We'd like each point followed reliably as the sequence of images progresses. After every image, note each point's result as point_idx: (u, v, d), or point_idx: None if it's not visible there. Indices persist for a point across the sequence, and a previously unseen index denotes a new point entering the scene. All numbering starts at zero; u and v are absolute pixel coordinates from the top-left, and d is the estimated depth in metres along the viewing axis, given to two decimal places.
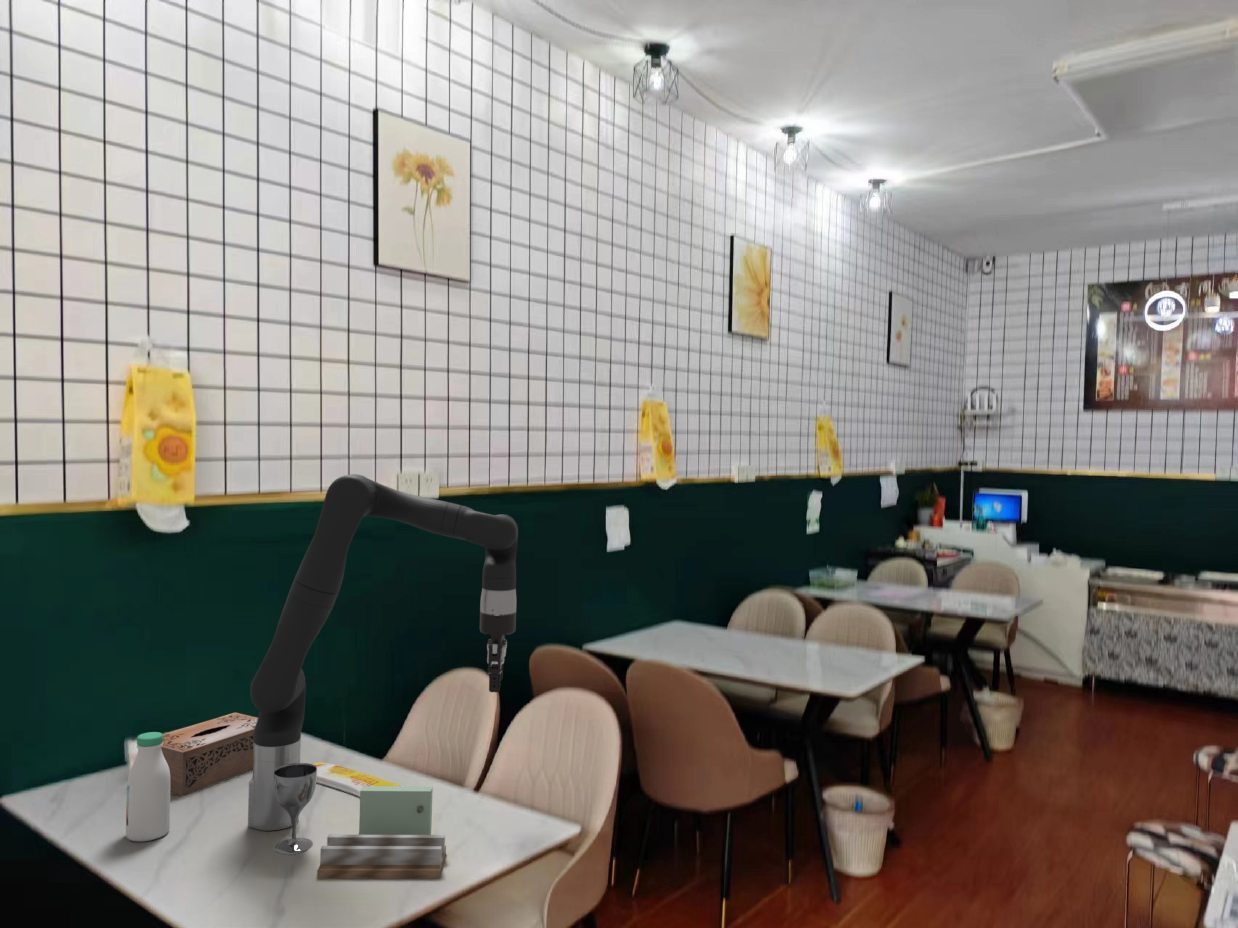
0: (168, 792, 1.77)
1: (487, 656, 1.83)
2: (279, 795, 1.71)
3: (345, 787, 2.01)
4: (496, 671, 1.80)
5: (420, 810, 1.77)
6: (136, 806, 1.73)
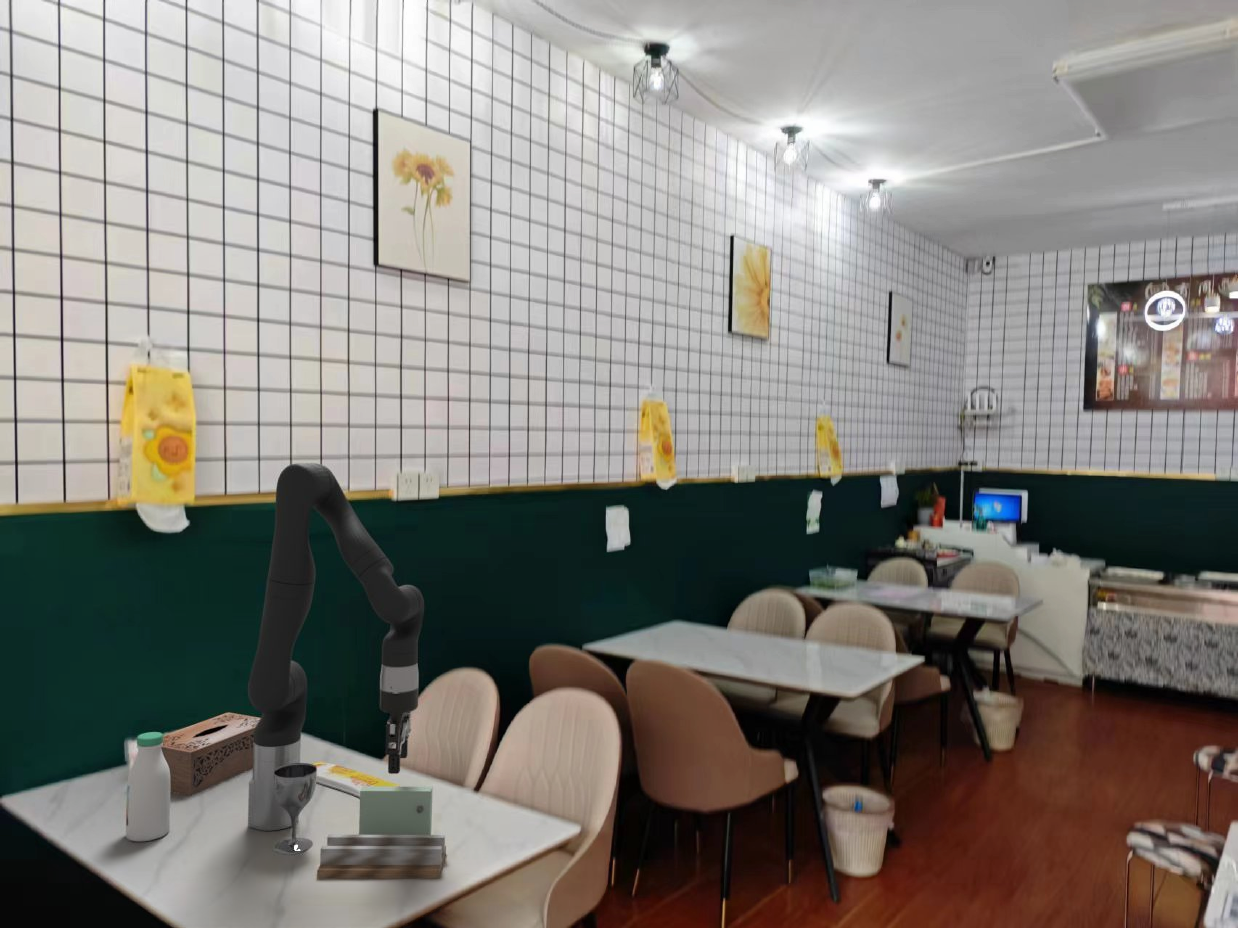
0: (168, 792, 1.77)
1: None
2: (279, 795, 1.71)
3: (344, 787, 2.01)
4: (394, 753, 1.72)
5: (420, 810, 1.77)
6: (136, 806, 1.73)
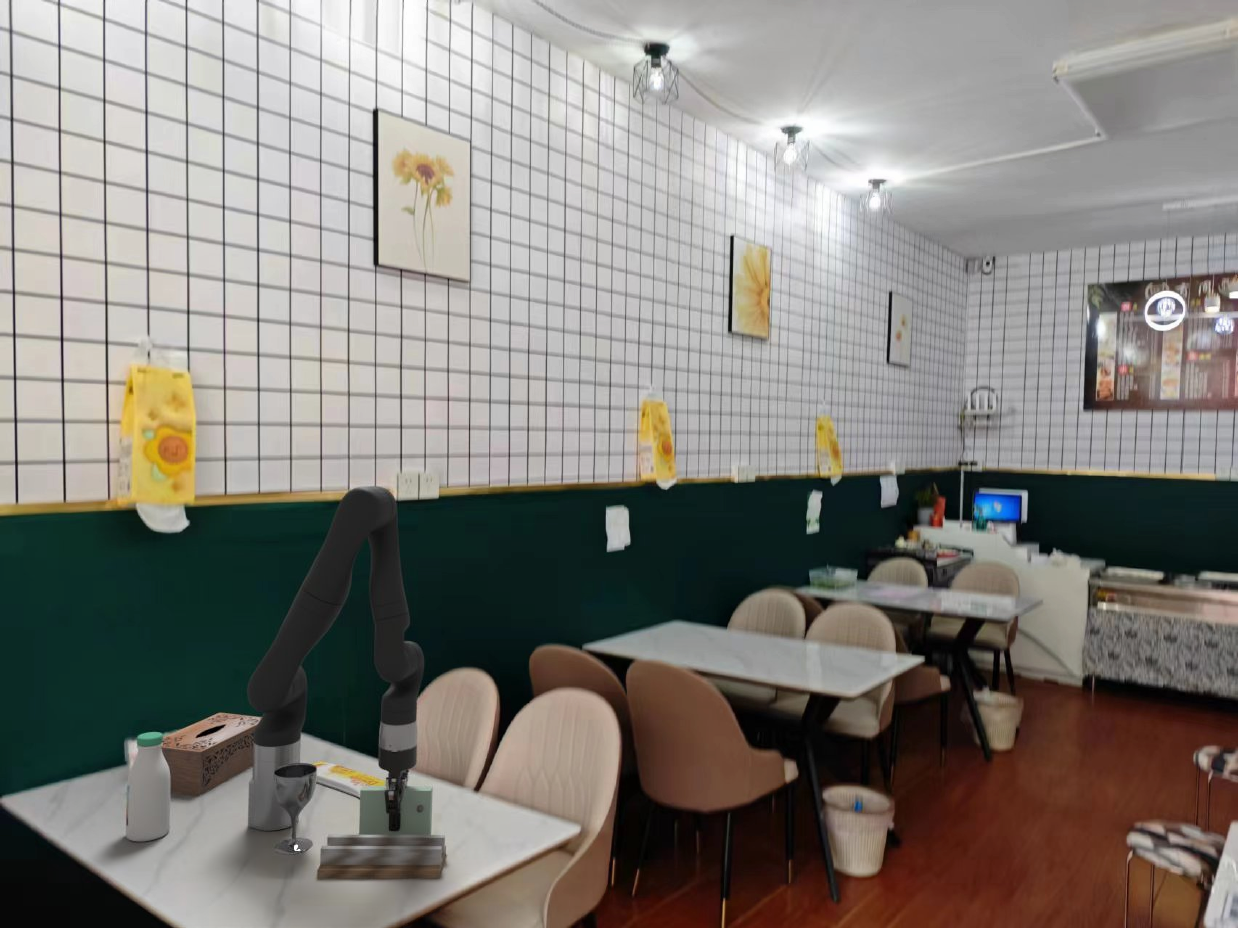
0: (168, 792, 1.77)
1: None
2: (279, 795, 1.71)
3: (344, 787, 2.01)
4: (394, 811, 1.75)
5: (420, 809, 1.78)
6: (136, 806, 1.73)
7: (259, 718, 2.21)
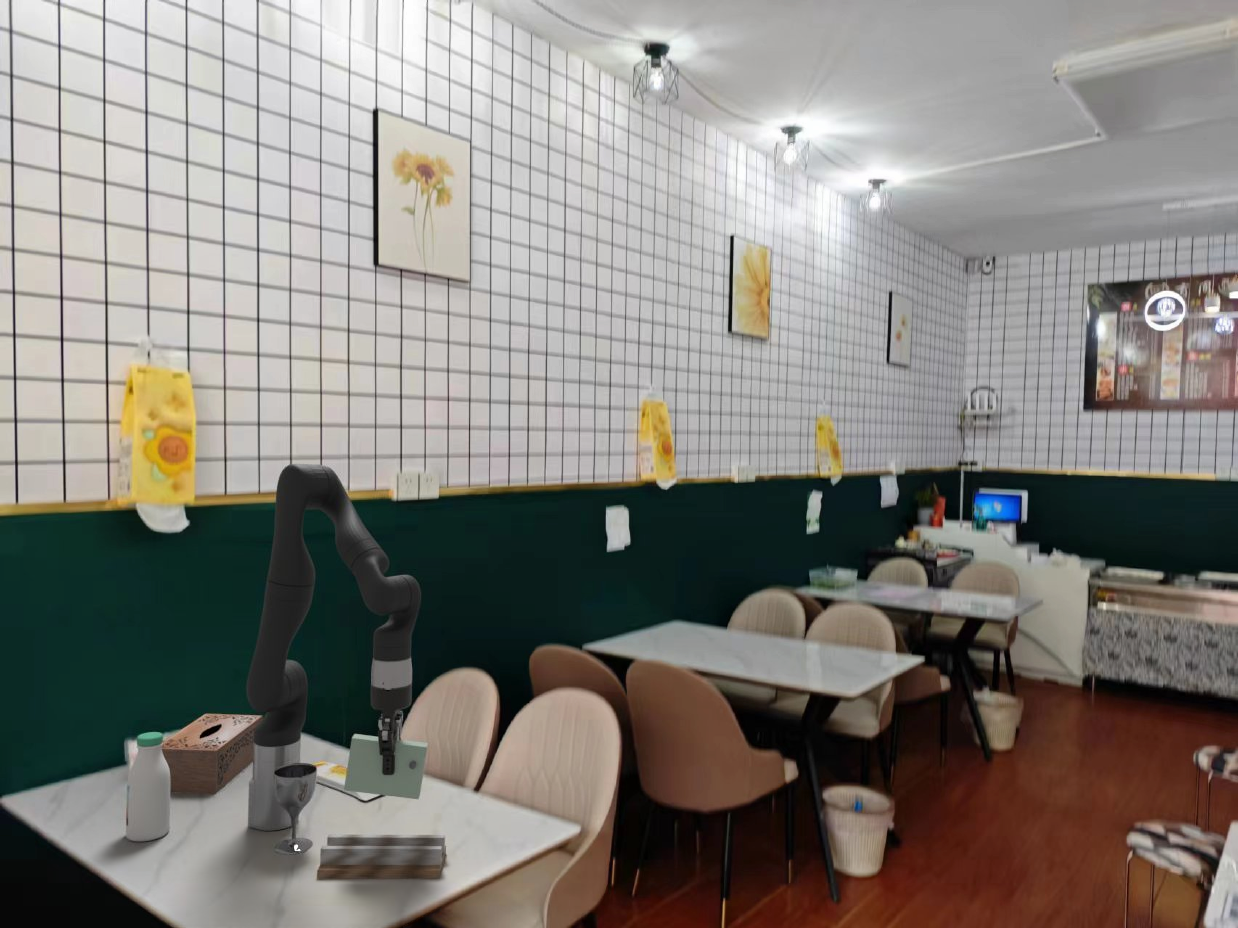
0: (168, 792, 1.77)
1: None
2: (279, 795, 1.71)
3: (343, 787, 2.01)
4: (389, 753, 1.64)
5: (413, 766, 1.67)
6: (136, 806, 1.73)
7: (251, 716, 2.23)
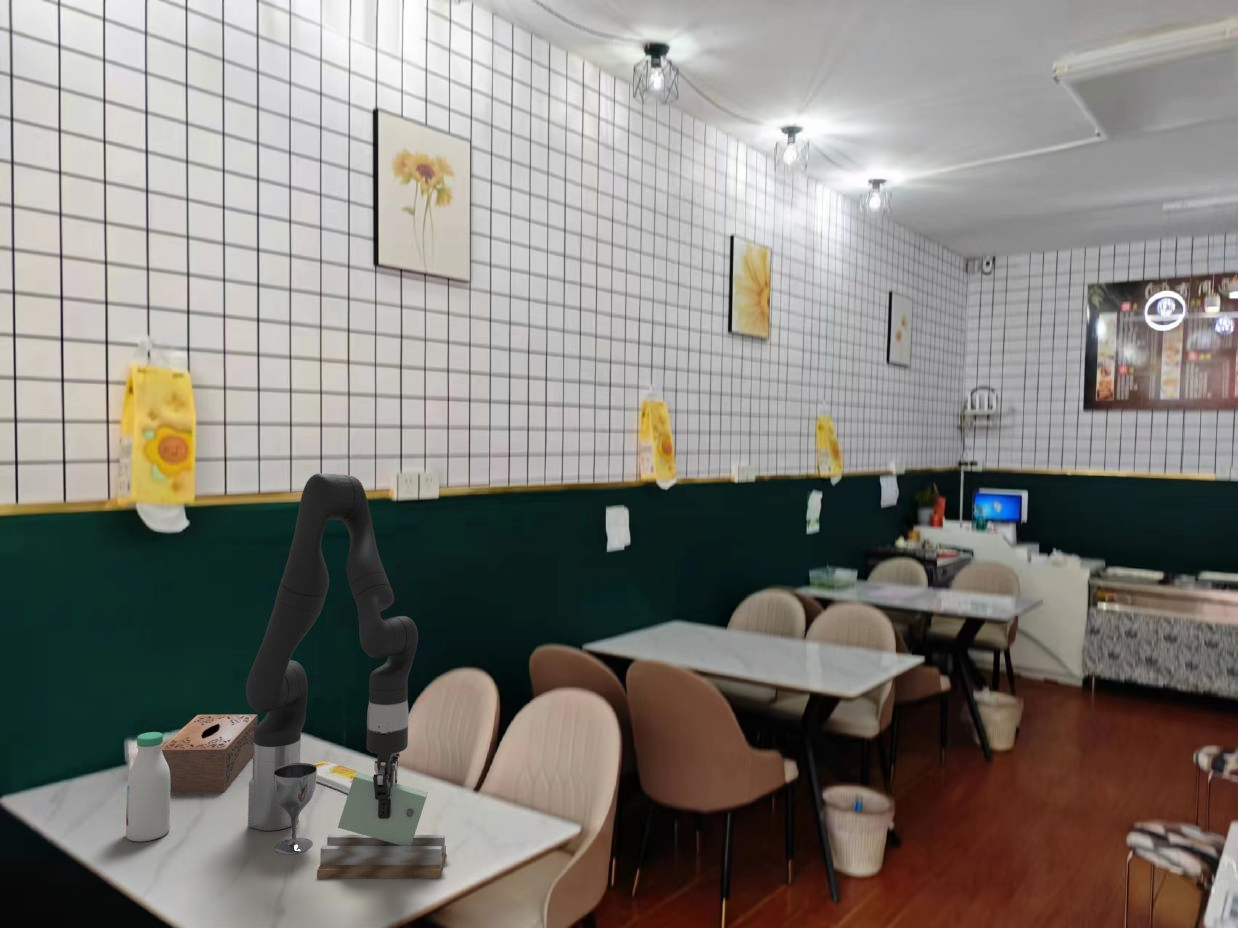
0: (168, 792, 1.77)
1: None
2: (279, 795, 1.71)
3: (342, 787, 2.01)
4: (384, 797, 1.63)
5: (410, 814, 1.66)
6: (136, 806, 1.73)
7: (246, 715, 2.23)
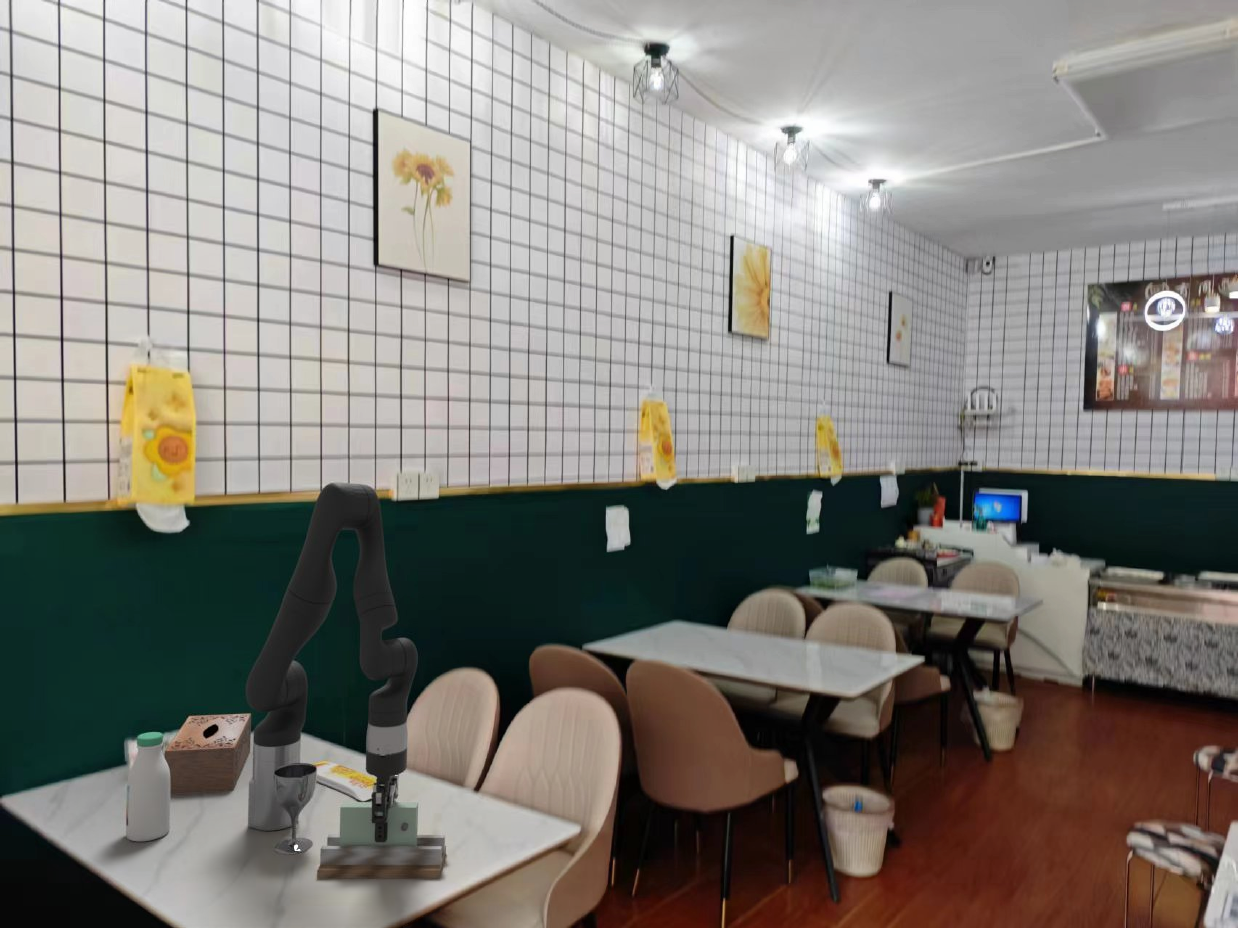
0: (168, 792, 1.77)
1: None
2: (279, 795, 1.71)
3: (342, 787, 2.01)
4: (381, 821, 1.61)
5: (404, 828, 1.66)
6: (136, 806, 1.73)
7: (240, 715, 2.23)
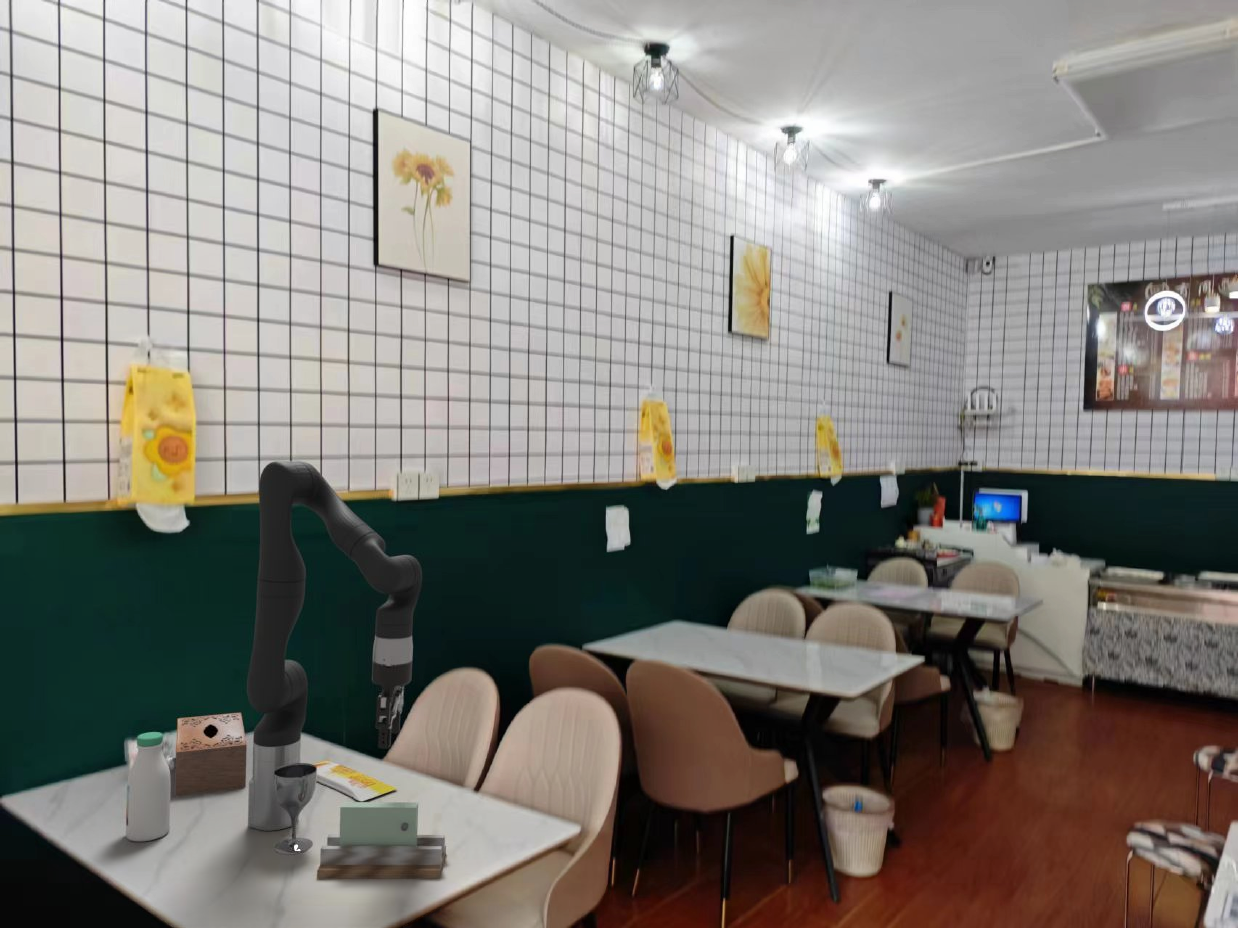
0: (168, 792, 1.77)
1: None
2: (279, 795, 1.71)
3: (341, 787, 2.01)
4: (384, 727, 1.66)
5: (404, 828, 1.66)
6: (136, 806, 1.73)
7: (230, 714, 2.23)
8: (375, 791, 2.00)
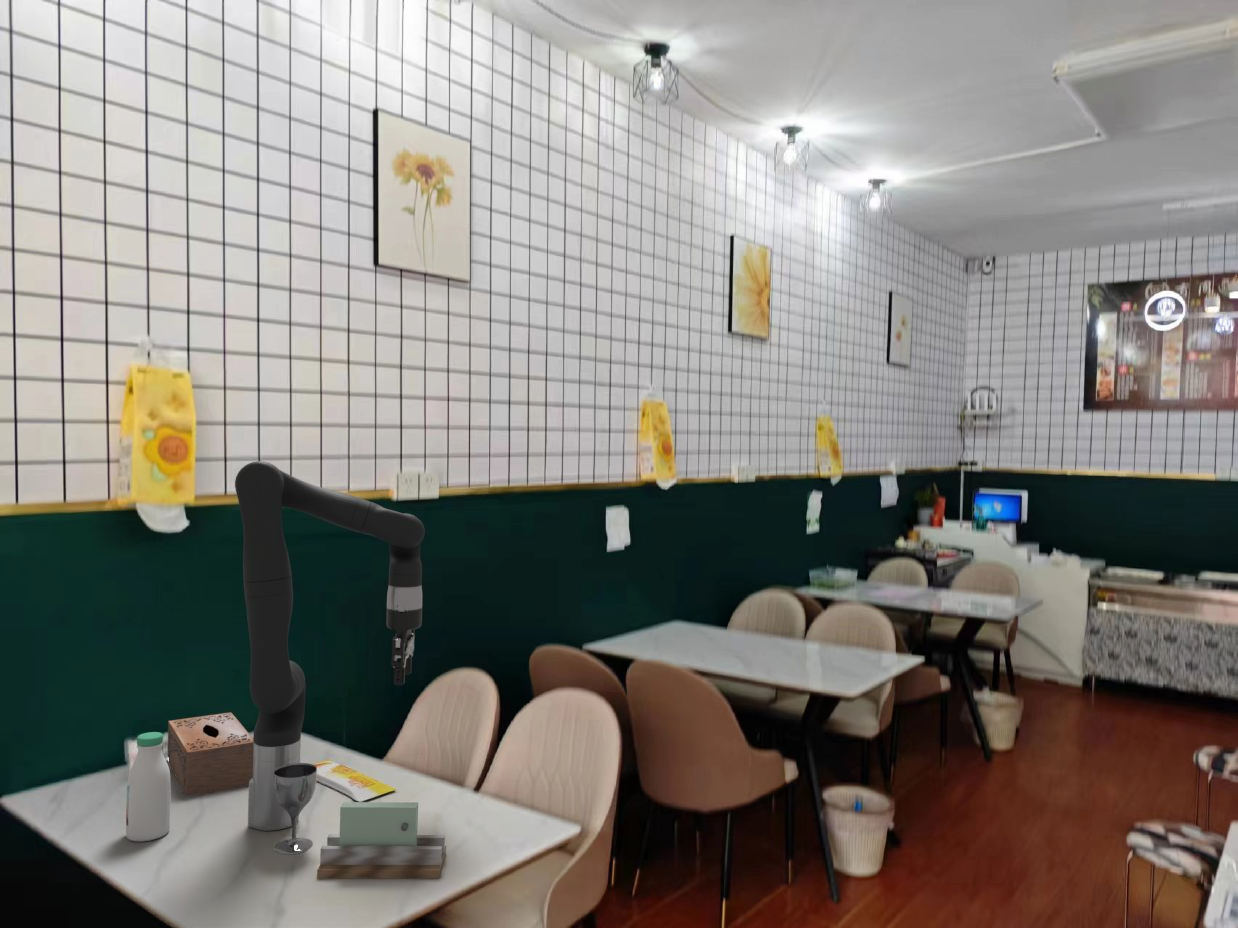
0: (168, 792, 1.77)
1: None
2: (279, 795, 1.71)
3: (340, 787, 2.01)
4: (399, 665, 1.86)
5: (404, 828, 1.66)
6: (136, 806, 1.73)
7: (222, 714, 2.23)
8: (374, 791, 2.00)
